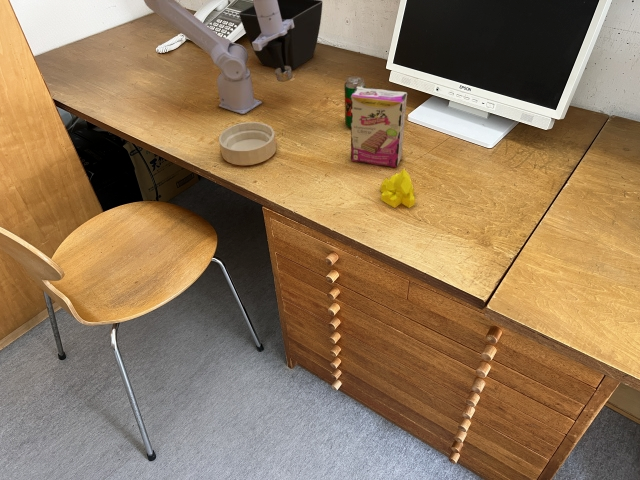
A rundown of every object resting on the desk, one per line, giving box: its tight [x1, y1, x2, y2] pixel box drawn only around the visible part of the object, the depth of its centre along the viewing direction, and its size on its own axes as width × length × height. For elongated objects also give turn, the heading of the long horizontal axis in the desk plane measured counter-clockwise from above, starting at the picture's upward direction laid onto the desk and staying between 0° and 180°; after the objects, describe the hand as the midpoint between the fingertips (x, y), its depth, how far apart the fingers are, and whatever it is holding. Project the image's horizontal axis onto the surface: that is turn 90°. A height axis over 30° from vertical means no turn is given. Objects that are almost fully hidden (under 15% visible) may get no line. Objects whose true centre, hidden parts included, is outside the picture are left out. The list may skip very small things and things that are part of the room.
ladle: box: [274, 38, 294, 83], centre depth 125 cm, size 4×4×11 cm
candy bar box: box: [350, 87, 408, 168], centre depth 105 cm, size 11×5×16 cm, turn 71°
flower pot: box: [238, 0, 323, 71], centre depth 149 cm, size 19×19×17 cm
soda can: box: [343, 76, 366, 129], centre depth 119 cm, size 5×5×12 cm
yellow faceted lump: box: [380, 168, 416, 209], centre depth 97 cm, size 6×8×8 cm
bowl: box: [218, 121, 277, 166], centre depth 114 cm, size 13×13×4 cm
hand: (281, 65), depth 126 cm, fingers closed on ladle
